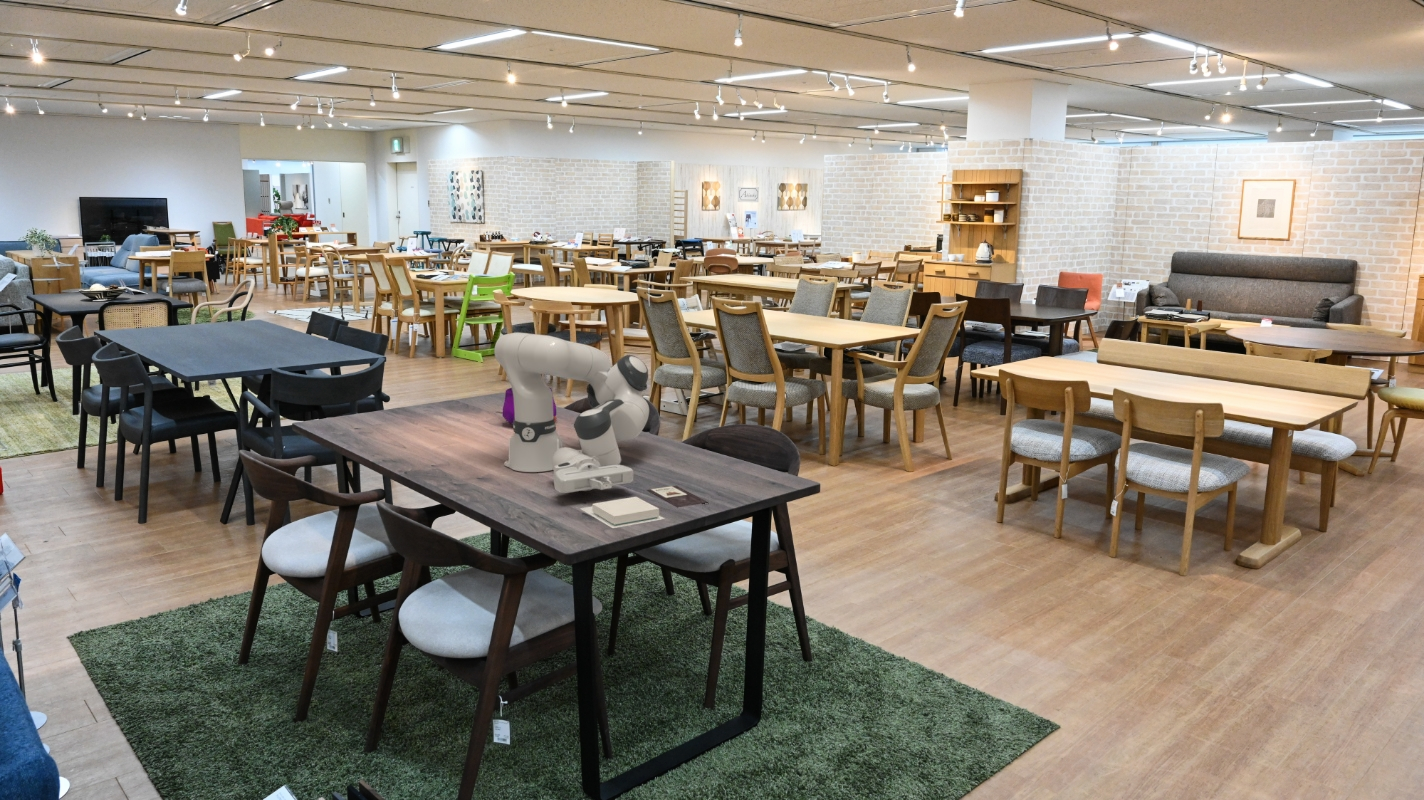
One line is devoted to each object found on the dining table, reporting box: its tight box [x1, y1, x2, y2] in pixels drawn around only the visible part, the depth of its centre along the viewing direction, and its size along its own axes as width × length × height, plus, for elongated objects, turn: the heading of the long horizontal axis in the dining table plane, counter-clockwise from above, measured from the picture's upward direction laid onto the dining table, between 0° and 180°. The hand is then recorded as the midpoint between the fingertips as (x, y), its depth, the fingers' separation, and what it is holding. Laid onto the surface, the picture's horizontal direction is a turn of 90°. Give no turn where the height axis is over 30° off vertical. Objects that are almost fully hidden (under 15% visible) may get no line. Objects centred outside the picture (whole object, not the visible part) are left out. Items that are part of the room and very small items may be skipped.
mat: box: [579, 506, 666, 529], centre depth 240 cm, size 18×14×1 cm
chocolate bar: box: [646, 485, 709, 508], centre depth 255 cm, size 9×1×18 cm
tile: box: [592, 496, 660, 525], centre depth 238 cm, size 2×12×12 cm
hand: (606, 485), depth 245 cm, fingers closed
